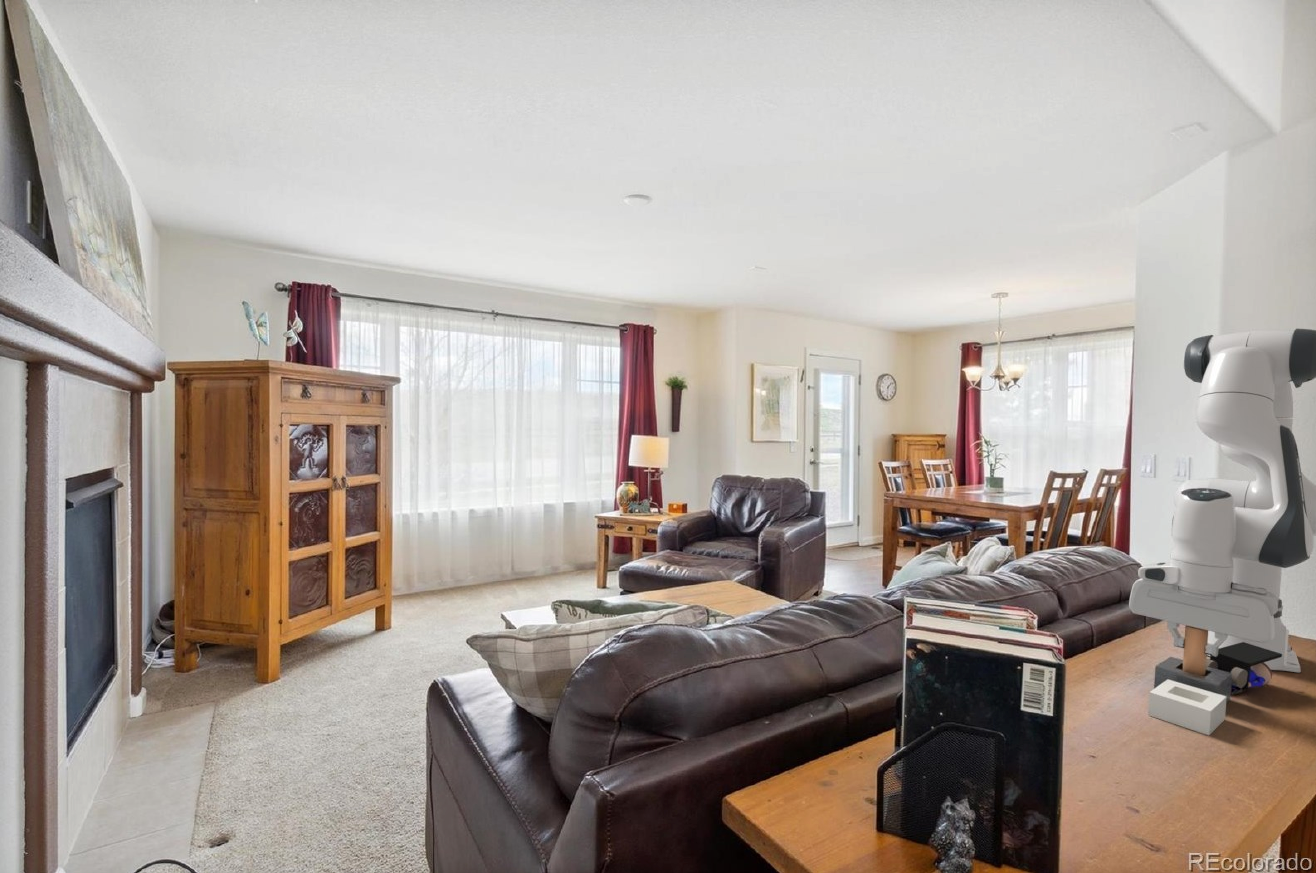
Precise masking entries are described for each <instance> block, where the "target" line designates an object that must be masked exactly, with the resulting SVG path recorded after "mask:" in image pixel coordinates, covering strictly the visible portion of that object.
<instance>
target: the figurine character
mask: <svg viewBox="0 0 1316 873" xmlns="http://www.w3.org/2000/svg"><path fill="white" fill-rule="evenodd" d="M1280 657H1282V654H1280V653H1277V652H1274V651H1271V650H1268V649H1264V648H1261V647H1258V646H1255V645H1251V644H1248V643H1245V642H1241V643H1238V644H1234V645H1230V646H1227V647H1223V648H1219V649H1218V656H1216V657H1215V656H1211V655H1210V656H1209V658H1206V666H1207V667H1211V668H1215V669H1218V670H1222V671H1226V672H1230V673H1232V683H1231V690H1233V691H1231V695H1236V694H1237V695H1238V693H1239V694H1240V693H1242V692H1243V689H1245V690H1248V689H1249V688H1253V687H1254V688H1255V687H1263V686H1264V685H1268V684H1269V683H1270V682H1271V681H1272V679H1273V672H1272V670H1271V669H1270V668H1269V667H1268V666H1267V665H1266V664H1265V663H1264V662H1267V661H1270V660H1273V659H1277V658H1280Z"/></svg>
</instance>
